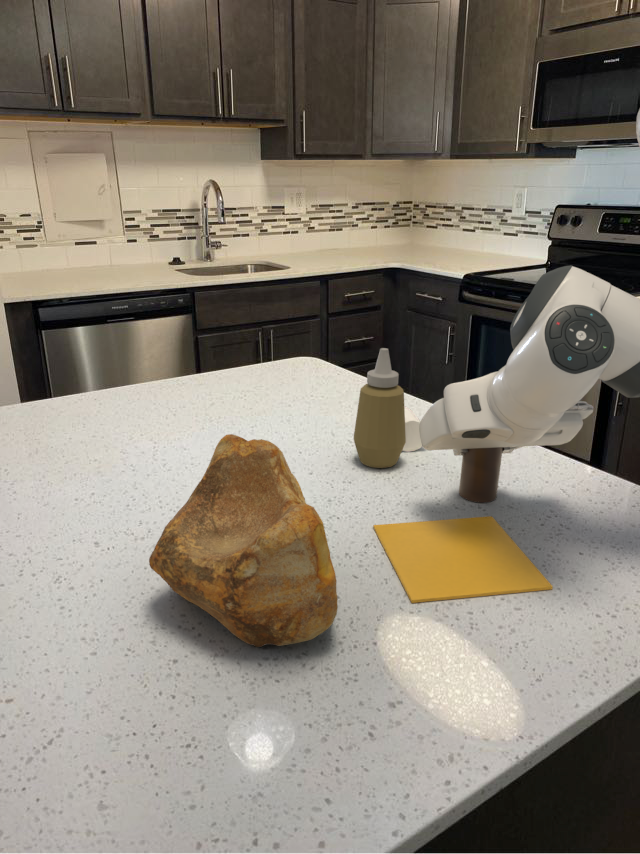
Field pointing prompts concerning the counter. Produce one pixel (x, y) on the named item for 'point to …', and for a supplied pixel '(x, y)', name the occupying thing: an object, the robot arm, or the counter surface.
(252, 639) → the rough brown rock
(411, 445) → the roll
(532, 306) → the robot arm
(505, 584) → the yellow square plate
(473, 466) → the pepper mill
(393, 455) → the squeeze bottle
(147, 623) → the counter surface
